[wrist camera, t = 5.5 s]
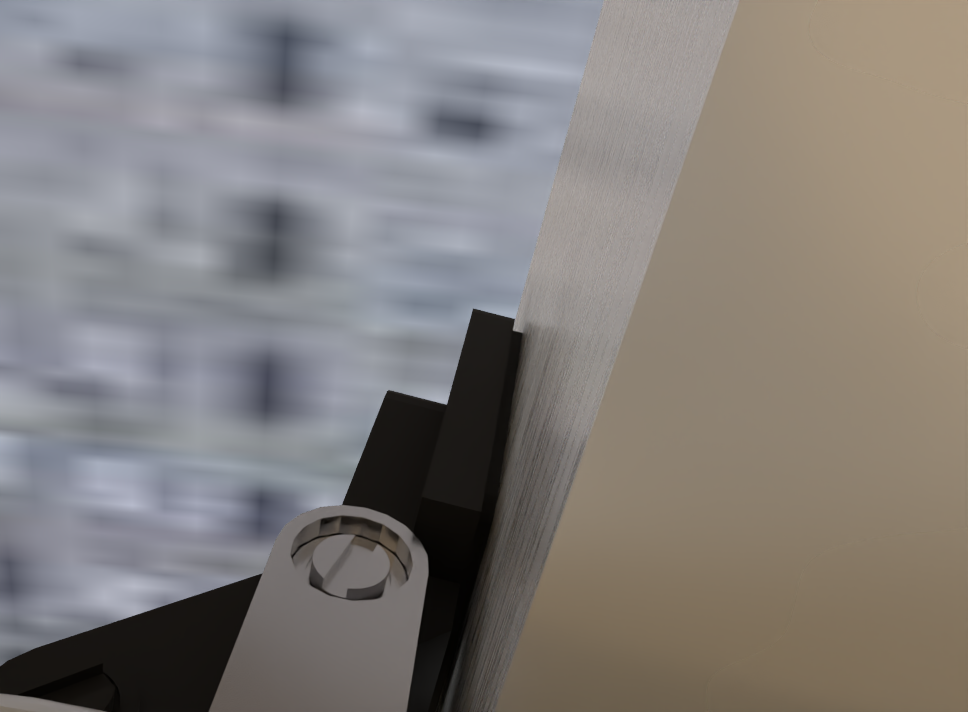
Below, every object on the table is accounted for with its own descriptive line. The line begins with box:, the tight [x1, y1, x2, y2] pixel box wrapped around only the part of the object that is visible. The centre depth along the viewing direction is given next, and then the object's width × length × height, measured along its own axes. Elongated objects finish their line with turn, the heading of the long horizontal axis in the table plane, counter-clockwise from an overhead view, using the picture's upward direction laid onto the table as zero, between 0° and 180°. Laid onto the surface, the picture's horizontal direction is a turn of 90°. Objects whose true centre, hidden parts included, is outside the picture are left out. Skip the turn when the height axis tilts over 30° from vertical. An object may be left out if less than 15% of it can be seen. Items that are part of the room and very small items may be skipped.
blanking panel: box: [436, 0, 968, 712], centre depth 10 cm, size 14×3×10 cm, turn 167°
